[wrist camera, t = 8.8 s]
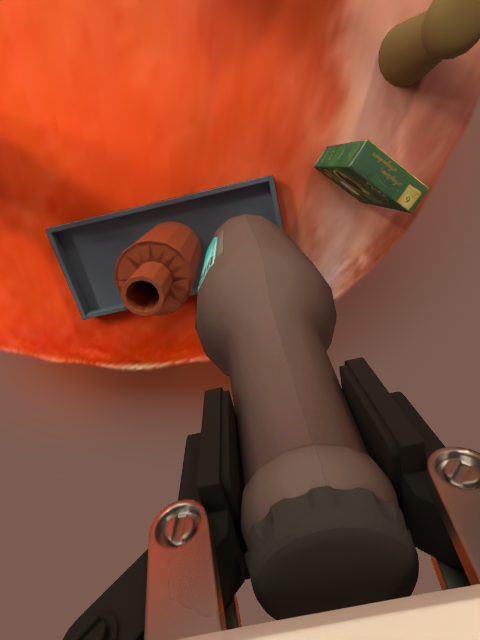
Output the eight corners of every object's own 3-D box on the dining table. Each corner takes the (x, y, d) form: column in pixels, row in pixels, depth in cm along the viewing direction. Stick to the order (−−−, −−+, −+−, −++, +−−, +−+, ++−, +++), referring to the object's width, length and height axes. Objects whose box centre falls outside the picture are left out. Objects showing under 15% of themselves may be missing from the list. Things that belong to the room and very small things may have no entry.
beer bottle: (194, 230, 34) (50, 515, 6) (272, 200, 33) (533, 362, 5) (224, 302, 36) (222, 728, 9) (297, 276, 36) (551, 649, 8)
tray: (87, 314, 51) (82, 320, 49) (51, 226, 46) (44, 229, 44) (287, 269, 49) (290, 273, 47) (271, 174, 45) (273, 174, 43)
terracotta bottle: (155, 282, 49) (115, 344, 31) (137, 228, 46) (83, 263, 28) (207, 270, 48) (197, 326, 31) (193, 215, 46) (172, 242, 28)
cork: (402, 98, 42) (458, 75, 32) (367, 57, 40) (415, 19, 30) (444, 51, 40) (517, 10, 30) (409, 6, 39) (474, -53, 29)
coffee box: (377, 184, 45) (433, 188, 33) (362, 204, 46) (411, 216, 34) (327, 144, 44) (366, 134, 31) (312, 166, 44) (345, 164, 32)
